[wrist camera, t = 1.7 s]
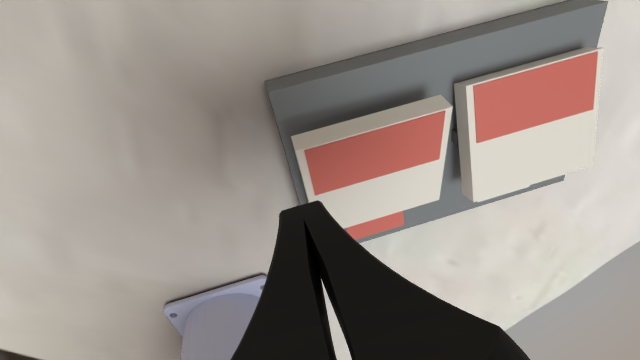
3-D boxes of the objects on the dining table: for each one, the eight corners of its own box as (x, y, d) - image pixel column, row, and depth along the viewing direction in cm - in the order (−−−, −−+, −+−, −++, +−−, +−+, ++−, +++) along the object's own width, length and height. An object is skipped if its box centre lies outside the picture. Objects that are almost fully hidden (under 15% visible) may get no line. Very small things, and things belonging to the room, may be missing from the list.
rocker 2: (576, 159, 22) (594, 166, 21) (462, 194, 22) (474, 202, 21) (584, 47, 20) (604, 47, 19) (453, 83, 19) (466, 86, 18)
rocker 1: (430, 186, 23) (439, 200, 22) (313, 221, 22) (318, 237, 21) (440, 94, 18) (453, 107, 17) (290, 136, 17) (296, 151, 16)
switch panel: (543, 167, 27) (570, 184, 25) (310, 237, 26) (317, 262, 24) (577, -2, 20) (618, 2, 18) (264, 81, 19) (268, 96, 17)
